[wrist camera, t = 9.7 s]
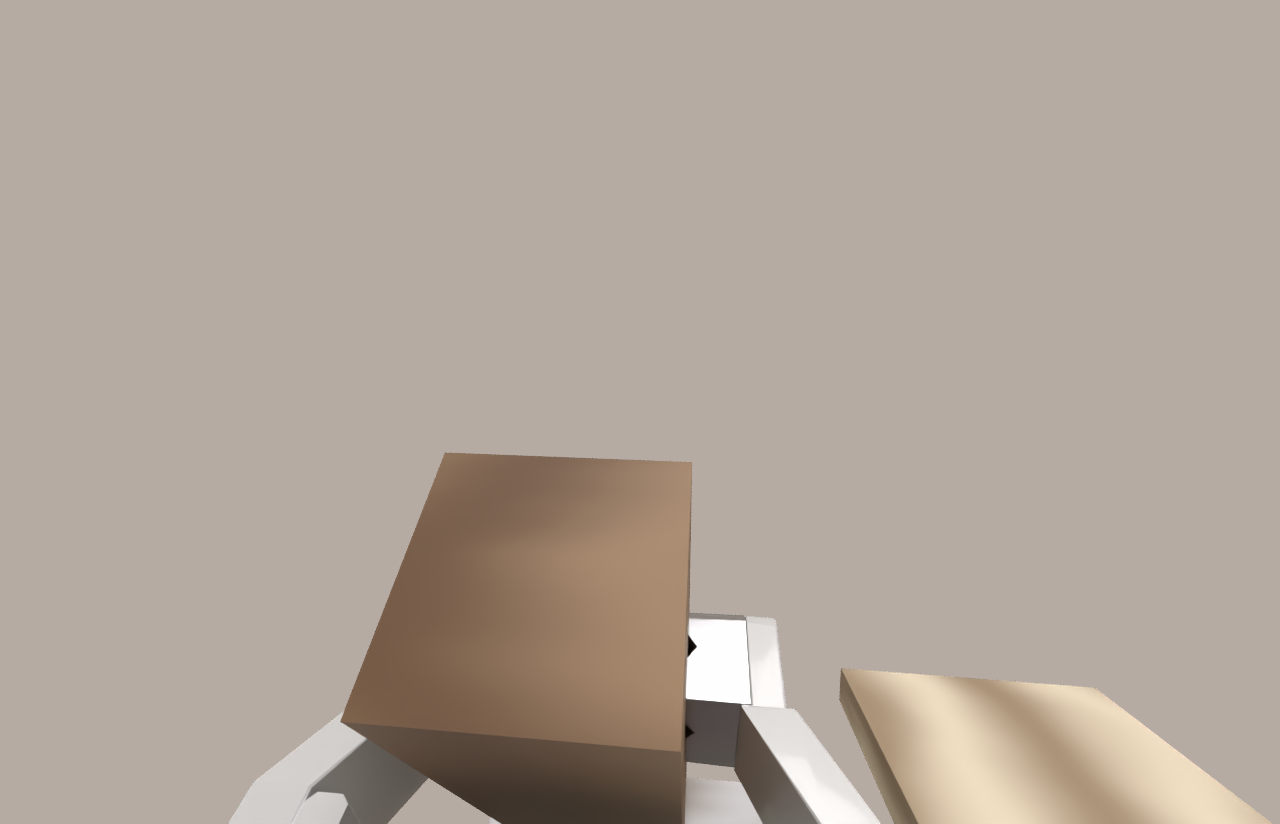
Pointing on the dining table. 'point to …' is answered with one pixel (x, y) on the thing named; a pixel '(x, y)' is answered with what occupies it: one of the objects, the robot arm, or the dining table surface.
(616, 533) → the mallet
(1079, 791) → the pedestal tall
